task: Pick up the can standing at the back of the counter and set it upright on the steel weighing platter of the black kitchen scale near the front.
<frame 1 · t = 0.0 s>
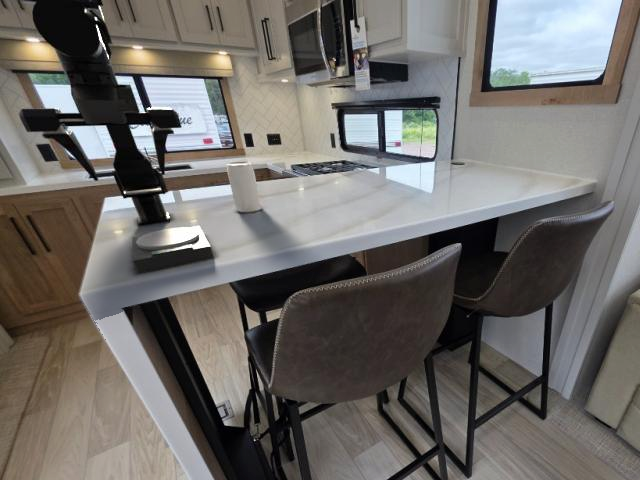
hand: (131, 177, 56), 15 cm above the table, tool pointing down, fingers open, 9 cm apart
scale: (174, 252, 65), on the table
can: (249, 210, 91), on the table
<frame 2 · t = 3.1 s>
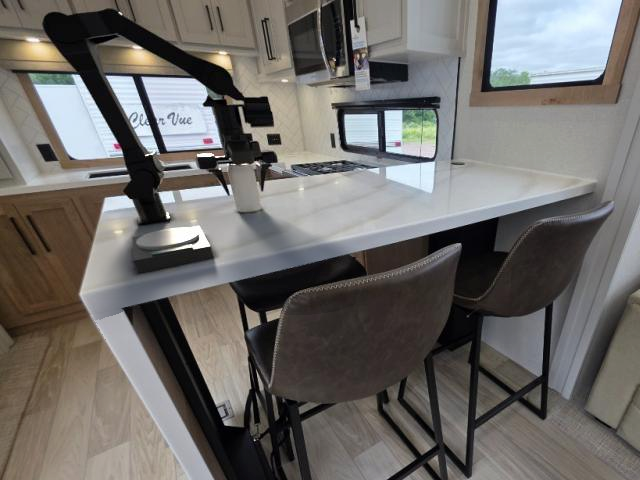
hand: (245, 193, 89), 4 cm above the table, tool pointing down
can: (249, 210, 91), on the table, touching gripper
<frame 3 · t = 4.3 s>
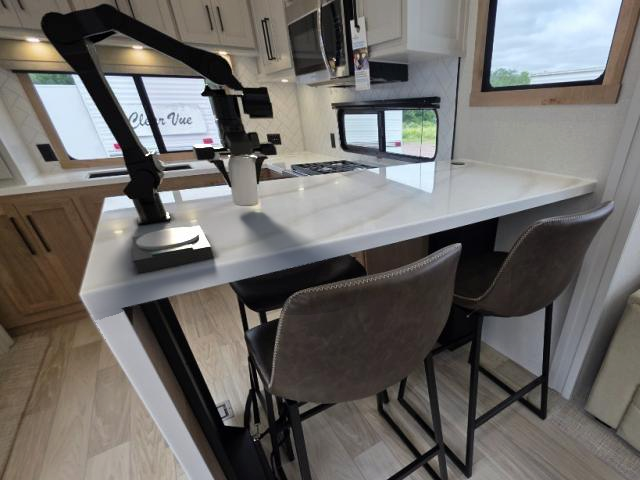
hand: (244, 185, 88), 6 cm above the table, tool pointing down, fingers closed on can, 7 cm apart
can: (246, 204, 90), point 2 cm above the table, touching gripper
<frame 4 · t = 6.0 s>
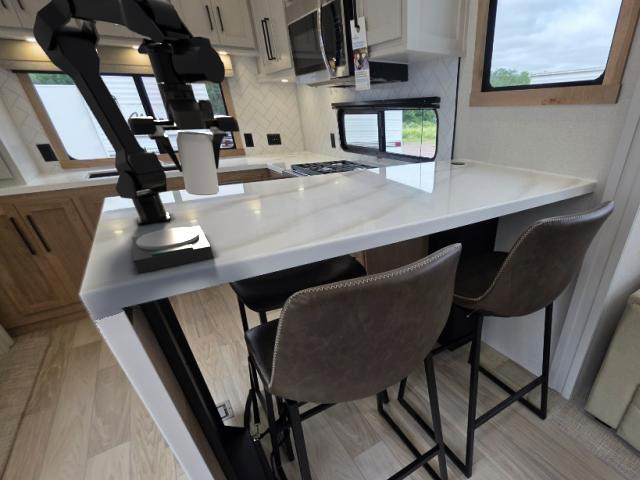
hand: (199, 170, 71), 13 cm above the table, tool pointing down, fingers closed on can, 7 cm apart
can: (203, 193, 73), point 8 cm above the table, touching gripper
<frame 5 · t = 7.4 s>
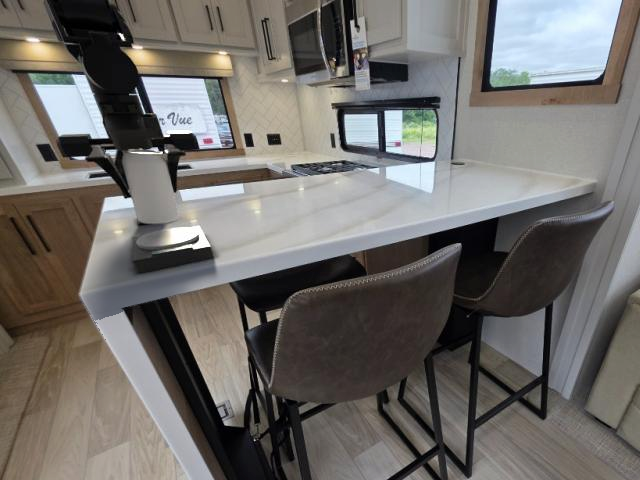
hand: (153, 194, 60), 11 cm above the table, tool pointing down, fingers closed on can, 7 cm apart
can: (159, 221, 62), point 6 cm above the table, touching gripper
when the fingers open (8 cm above the table, at t = 8.7 s): can stays where it is, resting on scale.
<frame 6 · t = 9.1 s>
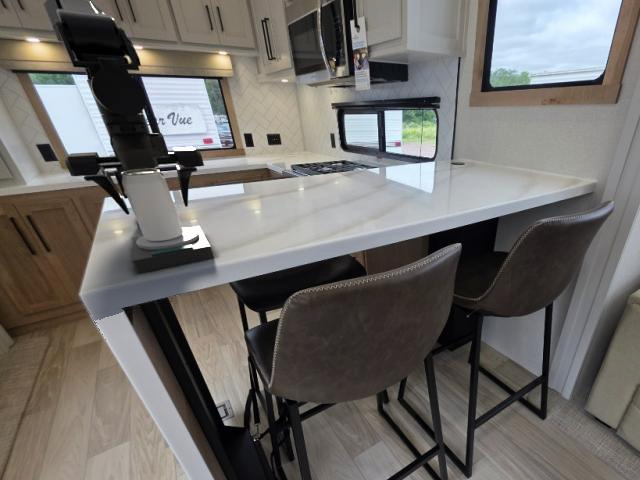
hand: (158, 210, 61), 8 cm above the table, tool pointing down, fingers open, 9 cm apart
can: (165, 237, 64), point 3 cm above the table, touching scale
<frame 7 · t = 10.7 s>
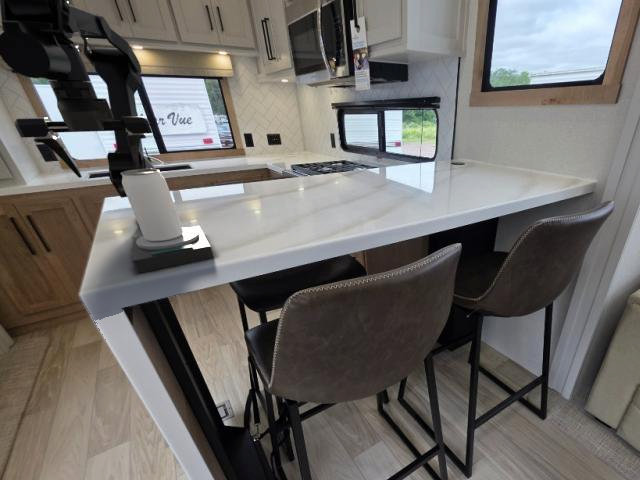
hand: (110, 174, 66), 13 cm above the table, tool pointing down, fingers open, 9 cm apart
nothing on the table moved.
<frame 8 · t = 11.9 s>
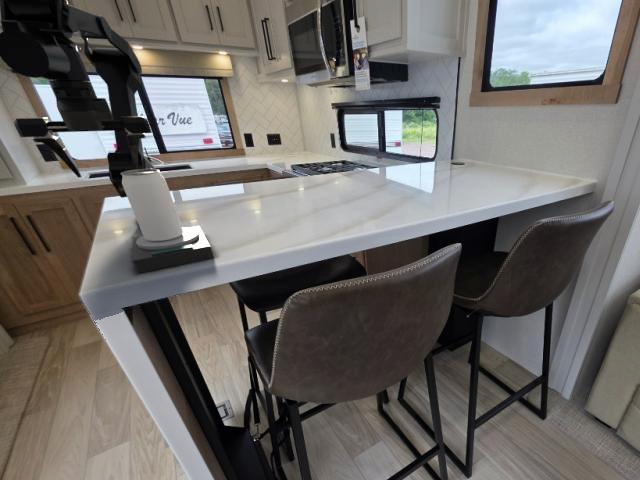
hand: (109, 174, 66), 13 cm above the table, tool pointing down, fingers open, 9 cm apart
nothing on the table moved.
at the end: can inside the target area on the scale (0.5 cm from its centre), point 2.9 cm above the scale's base; can tilted 0°; the gripper is holding nothing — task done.
